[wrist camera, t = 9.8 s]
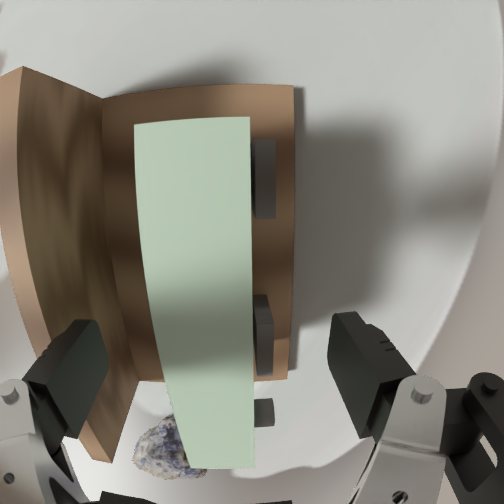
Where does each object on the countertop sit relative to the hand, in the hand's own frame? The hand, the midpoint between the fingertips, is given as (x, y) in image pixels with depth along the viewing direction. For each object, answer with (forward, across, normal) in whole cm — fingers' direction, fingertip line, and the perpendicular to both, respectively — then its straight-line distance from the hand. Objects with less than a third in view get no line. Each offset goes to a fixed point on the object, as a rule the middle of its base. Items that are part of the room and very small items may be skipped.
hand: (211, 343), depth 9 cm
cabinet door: (+10, 0, 0) cm, 11 cm away
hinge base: (+11, +2, 0) cm, 12 cm away
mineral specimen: (+12, +7, +20) cm, 24 cm away
